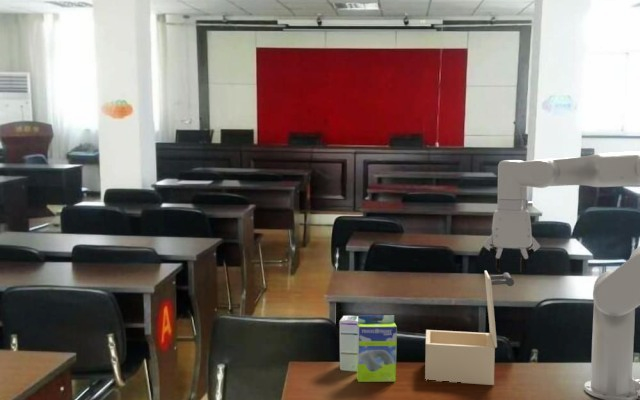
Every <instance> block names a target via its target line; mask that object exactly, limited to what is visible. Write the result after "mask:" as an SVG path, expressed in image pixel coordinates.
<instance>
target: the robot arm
mask: <svg viewBox="0 0 640 400" xmlns="http://www.w3.org/2000/svg"><path fill="white" fill-rule="evenodd" d="M559 186H560V187H562V186H587V187H593V188H610V187H612V188H613V187H614V188H615V187H638V186H640V151H638V150H637V151H623V152H608V153H607V152H605V153H594V154H591V155H590V154H589V155H585V156H577V157H565V158H564V157H563V158H561V157H560V158H540V159H539V158H538V159H533V160H525V161H524V160H521V159H505V160H504V159H503V160H501V161H499V163H498V164H497V210H494V212H493V216H492V223H491V234H490V236H489V237H488V238H487V239H486V240H485V241H484V242H483V244H482V246H483V248H485V249H486V250H487V251H489V252H490V253H491V254H492V255H493V256H494V258H495V270H497V271H498V274H502V273H503V258H502V252H503V249H520V253H521V257H520V258H519V260H520V261H519V272H520V273H521V275H525V271H527V269H528V267H527V266H528V260H527V259H529V258H530V257H531V255H532V254H534V252H536V251H537V250H538V249H540V248H541V244H540V243H539V242H538V241H537V240H536V238H535V237H534V236H533V235H532V223H531V222H532V221H531V215H530V211H529V210H528V208H531V207H533V201H529V200H528V199H527V198H528V197H527V196H528V195H527V194H528V193H527V191H528V187H531V188H536V189H544V188H548V187H559ZM491 244H492V245H493V246H494V247H495V248H496V249H495V248H494V247H493V246H491ZM527 248H528V249H527ZM592 299H593V311H592V313H593V316H592V317H593V318H592V334H591V335H592V337H591V338H592V339H591V365H590V366H591V368H590V380H588V381H586V382H585V383H584V384H583V389H584V391H585V392H586V393H587V394H589V395H590V396H592V397H593V398H598V399H601V400H637V399H638V398H639V391H640V378H639V379H635V378H634V377H633V364H634V363H633V362H634V358H633V357H634V342H635V341H634V340H635V338H634V337H635V321H636V320H635V315H636V308H638V307H639V306H640V246H638V247H636V249H634V250H633V251H632V252H631V255H630V256H629V259H627V260H626V261H625V262H623V263H622V264H621V265H619V267H617V268H616V269H612V270H611V269H610V270H607V271H604V272H603V273H601V274H600V275H599V276H598V277H597V278H596V280H595V282H594V284H593V290H592Z"/></svg>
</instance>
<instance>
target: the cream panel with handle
mask: <svg viewBox="0 0 640 400" xmlns="http://www.w3.org/2000/svg"><path fill="white" fill-rule="evenodd" d="M484 281H485V290H486V291H485V292H486V302H487V303H486V304H487V313H488V314H487V316H488V324H489V325H488V326H489V333H490V335H491V338H492V341H493V344H494V347H495V348H498V341H497V331H496V321H495V320H496V319H495V308H494V297H493V296H494V295H493V288H492V287H493V286H497V285H499V286H500V285H507V286H508V287H512V286H514V284H515V281H514V279H513V278H512V276H511V275H510V273H509V272H503V274H498V275H496V274H495V275H494V274H493V275H489V273H488V271H487V270H484Z"/></svg>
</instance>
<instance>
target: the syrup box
mask: <svg viewBox="0 0 640 400" xmlns="http://www.w3.org/2000/svg"><path fill="white" fill-rule="evenodd" d="M358 316H359V315H342V317H341V318H340V320H339V369H340V371H345V372H357V339H358V330H357V324H358Z"/></svg>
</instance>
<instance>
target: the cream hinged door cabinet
mask: <svg viewBox="0 0 640 400" xmlns="http://www.w3.org/2000/svg"><path fill="white" fill-rule="evenodd" d="M495 349H496V347H495V346H494V343H493V340H492V337H491V334H490V332H475V331H473V332H472V331H456V330H455V331H453V330H437V329H435V330H434V329H425V359H424V360H425V362H424V363H425V366H424V369H425V370H424V374H425V375H424V380H425V379H426V380H425V381H427V379H429V380H436V381H435V382H442V381H449V382H448V383H457V382H461V383H460V384H472V385H473V384H475V385H486V386H487V385H488V386H494V385H495V358H496V356H495V354H496V353H495V352H496V350H495Z"/></svg>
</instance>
